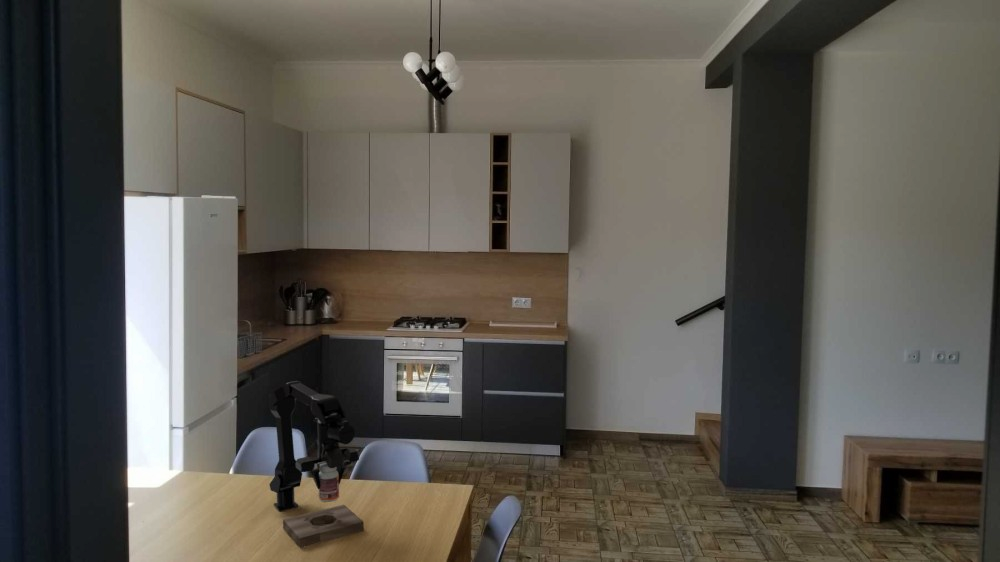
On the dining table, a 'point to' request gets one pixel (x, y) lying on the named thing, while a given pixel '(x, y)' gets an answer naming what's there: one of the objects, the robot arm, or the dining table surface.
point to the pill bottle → (328, 483)
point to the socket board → (309, 531)
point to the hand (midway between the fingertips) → (328, 486)
